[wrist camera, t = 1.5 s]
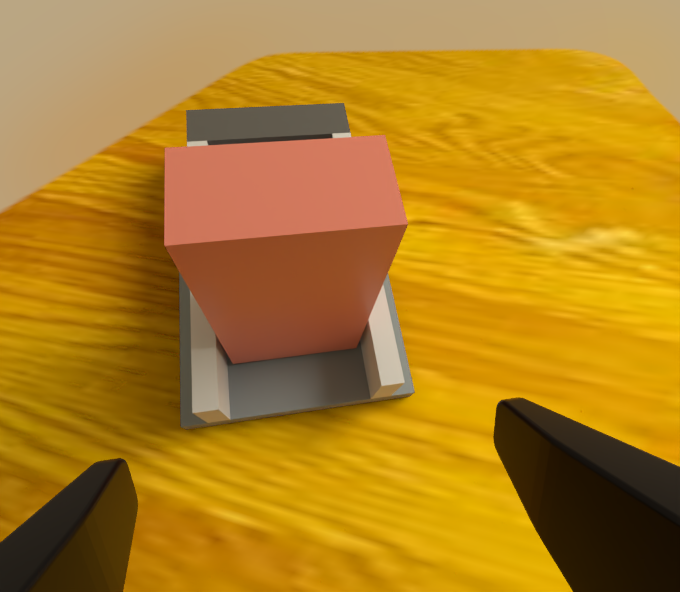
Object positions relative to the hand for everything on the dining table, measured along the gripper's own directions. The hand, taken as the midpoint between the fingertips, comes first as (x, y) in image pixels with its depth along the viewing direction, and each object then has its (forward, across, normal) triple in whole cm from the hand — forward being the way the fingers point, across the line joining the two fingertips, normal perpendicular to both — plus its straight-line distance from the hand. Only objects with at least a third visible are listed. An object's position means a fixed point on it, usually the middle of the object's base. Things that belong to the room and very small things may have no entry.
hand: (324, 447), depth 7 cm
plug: (+13, 0, +4) cm, 14 cm away
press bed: (+17, 0, +2) cm, 17 cm away
